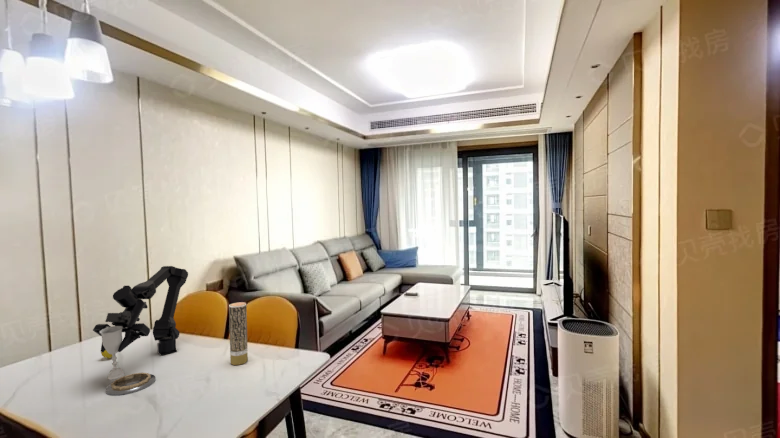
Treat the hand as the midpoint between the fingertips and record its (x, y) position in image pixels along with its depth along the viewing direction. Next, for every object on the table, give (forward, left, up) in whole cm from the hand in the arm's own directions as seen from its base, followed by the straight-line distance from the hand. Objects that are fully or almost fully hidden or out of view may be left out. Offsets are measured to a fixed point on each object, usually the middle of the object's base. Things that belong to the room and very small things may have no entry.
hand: (110, 351), depth 130 cm
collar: (-6, +4, -13) cm, 15 cm away
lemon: (-4, -34, -13) cm, 37 cm away
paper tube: (-42, +14, -13) cm, 46 cm away
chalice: (-2, -2, -10) cm, 10 cm away
